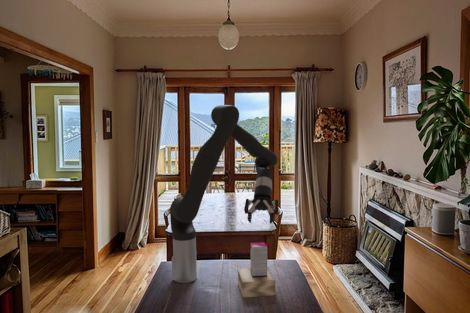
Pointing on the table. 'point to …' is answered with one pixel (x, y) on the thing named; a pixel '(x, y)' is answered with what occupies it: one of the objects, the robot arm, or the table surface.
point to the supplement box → (258, 259)
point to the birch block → (255, 284)
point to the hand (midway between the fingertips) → (260, 222)
